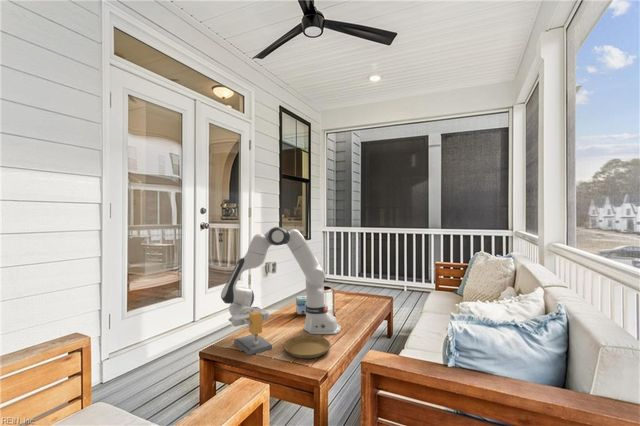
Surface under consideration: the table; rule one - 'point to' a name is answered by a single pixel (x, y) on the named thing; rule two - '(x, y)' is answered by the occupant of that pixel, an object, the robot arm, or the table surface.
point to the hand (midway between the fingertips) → (256, 322)
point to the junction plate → (252, 344)
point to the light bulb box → (300, 304)
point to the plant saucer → (307, 346)
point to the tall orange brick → (255, 322)
